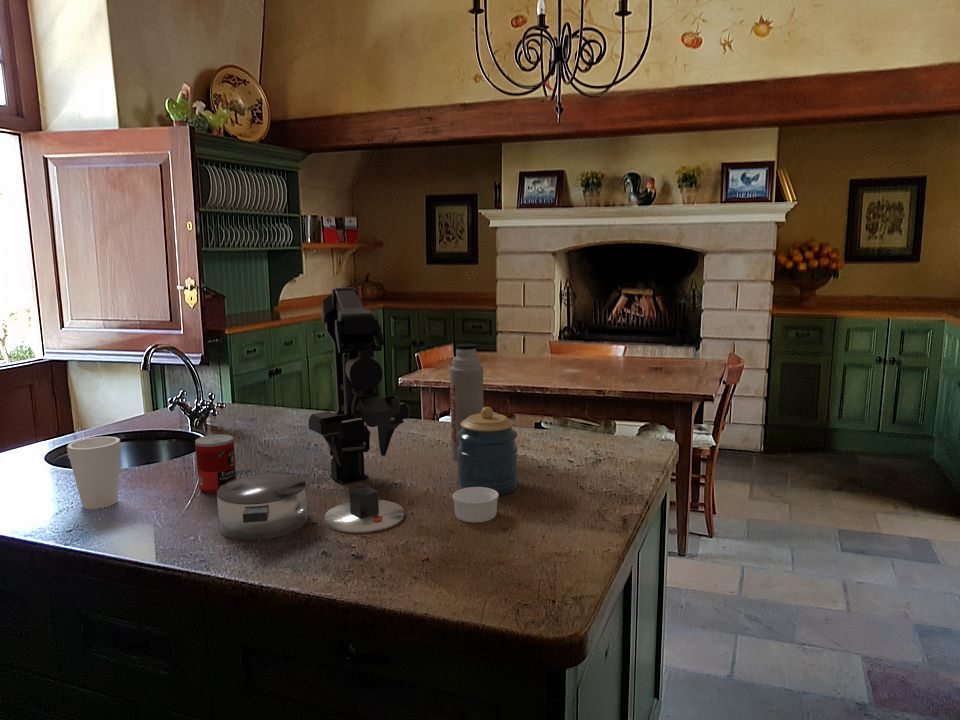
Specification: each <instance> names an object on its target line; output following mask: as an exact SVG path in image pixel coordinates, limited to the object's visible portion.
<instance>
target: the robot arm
mask: <svg viewBox="0 0 960 720" xmlns="http://www.w3.org/2000/svg"><path fill="white" fill-rule="evenodd" d="M321 303H322V304H321V322H322V324H324V327H325V328H324V329H325V331H326V333H327V335H328V336H329V338H330V340H331V342H333V356H334V358H333V359H334V376H335V391H336V392H335V393H336V409H335V411H334V412H331V411H321V412H316V413H312V414H311V415H310V416H309V418H308V421H307V422H308V429H309V430H311V431H313V432H315V433H317V434H319V435H321V436H322V437H323V438H324V440H325V441H326V443H327V450H328V453H329V456H331V457H332V458H331V460H330V468H331V469H330V471H331V472H330V473H331V474H330V475H329V477H330V478H332V479H333V480H335V481H337V482H339V483H341V484H348V483H351V482H357V481H360V480H365V479H368V478H369V475H368V474H366V473H365V453H369V451H370V449H371V445H370V442H371V441H370V440H371V431H370V430H369V428H368V427H370V428H377V433H378V434H377V436H378V445H379V446H378V447H379V451H380V452H379V453H380V455H381V456H383V457H385V456H386V455H387V452H388V450H389V446H390V443H391V441H392V437H393V435H394V432H395V430H396V428H398V426H400V425H402V424H404V422H405V420H406V419H410V417H411V415H410V413H411V412H410V408H409V405H408V404H407V403H405V402H401V401H400V397H399V396H398V395H397V394H394V395H393V394H392V395H388V396H381V394H380V388H379V384H380V383H381V382H382V378H383V373H384V372H383V369H382V366H381V364H380V363H379V362H378V361H377V360H376V358H375V352H382V351H383V347H382V346H384V342H385V341H384V336H383V330H382V326H381V323H380V322H379V319H378V318H377V317H375V314H374V313H373V312H372V311H371V310H370V309H366V308H363V304H362V303H363V302H362V298H361V297H360V296H359V295H358V290H357V288H355V287H352V286H351V287H334V288H332V290H331V294H329V295H328V296H327V297H325V298H324V299H323V300H322V302H321Z"/></svg>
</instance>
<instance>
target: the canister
mask: <svg viewBox="0 0 960 720" xmlns="http://www.w3.org/2000/svg"><path fill="white" fill-rule="evenodd" d="M514 424H515V423H514V421H513V420H512V419H509V418H508V417H507V416H506V415H504V414H501V413H495V412H494V410H493V409H492V408H491V407H490V406H484V408H483V409H482V410H481V414H474V415H471V416H469V417H467V419H465V420H463V421H462V422H461V426H462V427H463V428H462V430H460V431H459V432H458V433H457V437H458V438H459V439H460V442H459V447H458V448H457V452H458V461H457V462H458V463H457V464H458V465H457V471H458V475H457V483H458V487H459V488H458V489H459V490H460V489H464V488H469V487H485V488H490V489H493V490H495V491H497V492H498V494H499V496H503V495H507V494H510V493H512V492H514V491H515V490H516V489H517V486H518V482H519V479H518V478H519V474H518V451H519V449H518V446H517V445H516V439H517V437H518V435H519V433H518V432H517V431H516V430H515V429H513V426H514Z"/></svg>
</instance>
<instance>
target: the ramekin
mask: <svg viewBox="0 0 960 720" xmlns="http://www.w3.org/2000/svg"><path fill="white" fill-rule="evenodd" d="M499 496H500V495H499V494H498V492H497V491H495V490H493V489H490V488H485V487H469V488H464V489H460V488H459V489H458V490H456V491H455V492H454V491H453V494H452V500H453V504H454V505H453V506H454V514H455V517H456V518H457V519H458V520H460V521H462V522H465V523H471V522H472V524H478V522H479V523H485V521H486V522H489V521H491V520H493V519H494V518H495V517H496V516H497V513H498V512H497V511H498V509H497V508H498V499H499Z"/></svg>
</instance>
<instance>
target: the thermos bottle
mask: <svg viewBox="0 0 960 720" xmlns="http://www.w3.org/2000/svg"><path fill="white" fill-rule="evenodd" d="M477 346H478V345H477V344H476V343H460V344H456V347H455V349H456V350H455V356H454V357H453V358H452V361H451V362H452V366H450V368H449V382H450V383H449V384H450V386H449V388H450V391H449V392H450V427H451V430H450V432H451V433H450V434H451V435H450V436H451V458H452V459H453V460H455V461H457V462H458V452H457V448H458V447H459V442H460V439H459V438H458V437H457V433H458V432H459V431H460V430H462V428H463V427H462V426H461V422H462V421H463V420H465V419H467V417H469V416H471V415H474V414H481V410H482V409H483V408H484V407H485V406H484V367H483V366H482V365H481V363H482V362H481V357H479V355H478V356H477V350H476V349H477Z"/></svg>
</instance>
